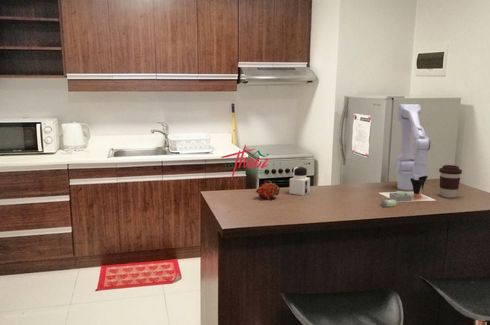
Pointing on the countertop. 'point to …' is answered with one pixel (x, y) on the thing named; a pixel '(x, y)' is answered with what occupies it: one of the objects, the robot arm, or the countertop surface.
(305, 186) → the container
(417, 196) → the cylinder
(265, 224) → the countertop surface
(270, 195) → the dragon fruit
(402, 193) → the button
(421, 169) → the robot arm
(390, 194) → the white sorting board
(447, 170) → the coffee cup
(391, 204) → the sage marker lying
